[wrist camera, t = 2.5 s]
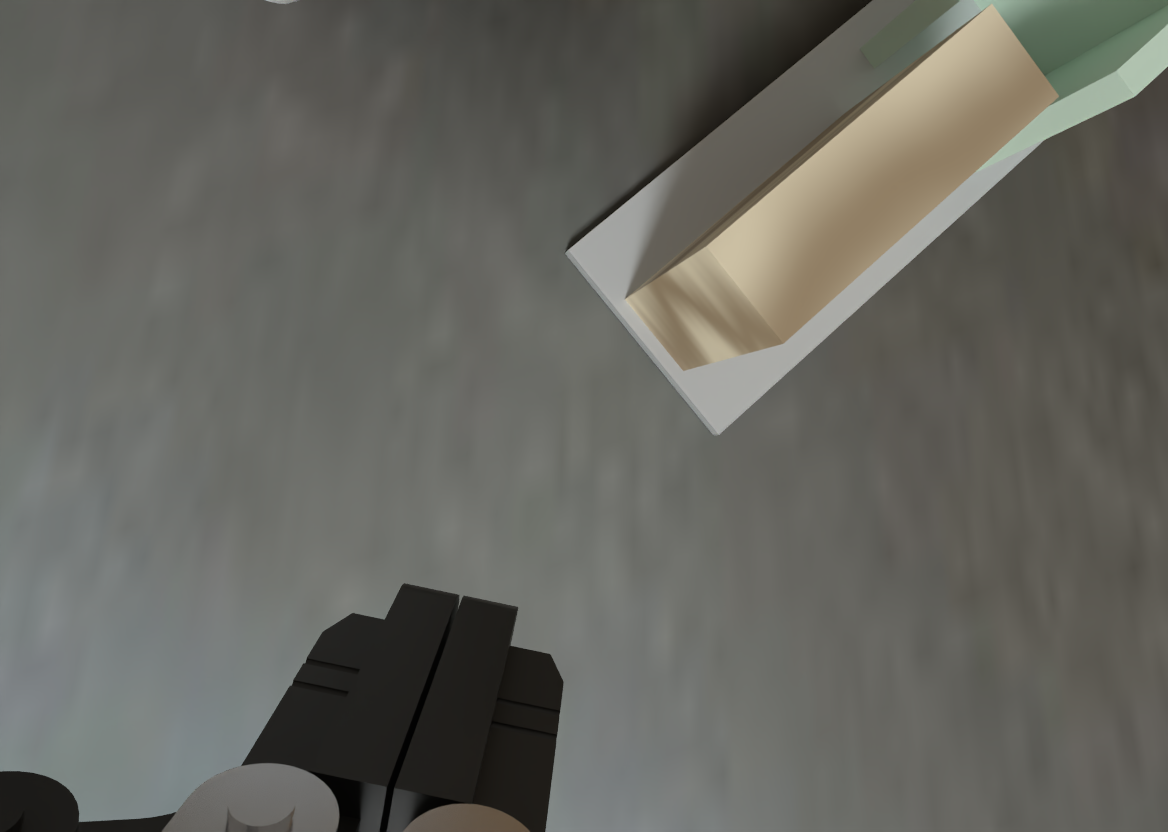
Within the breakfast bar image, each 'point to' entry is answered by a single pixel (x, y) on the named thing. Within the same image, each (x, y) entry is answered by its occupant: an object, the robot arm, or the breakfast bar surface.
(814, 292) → the tan wooden block
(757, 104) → the board
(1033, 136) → the end cap
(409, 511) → the breakfast bar surface
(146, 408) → the breakfast bar surface
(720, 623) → the breakfast bar surface
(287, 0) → the mug
